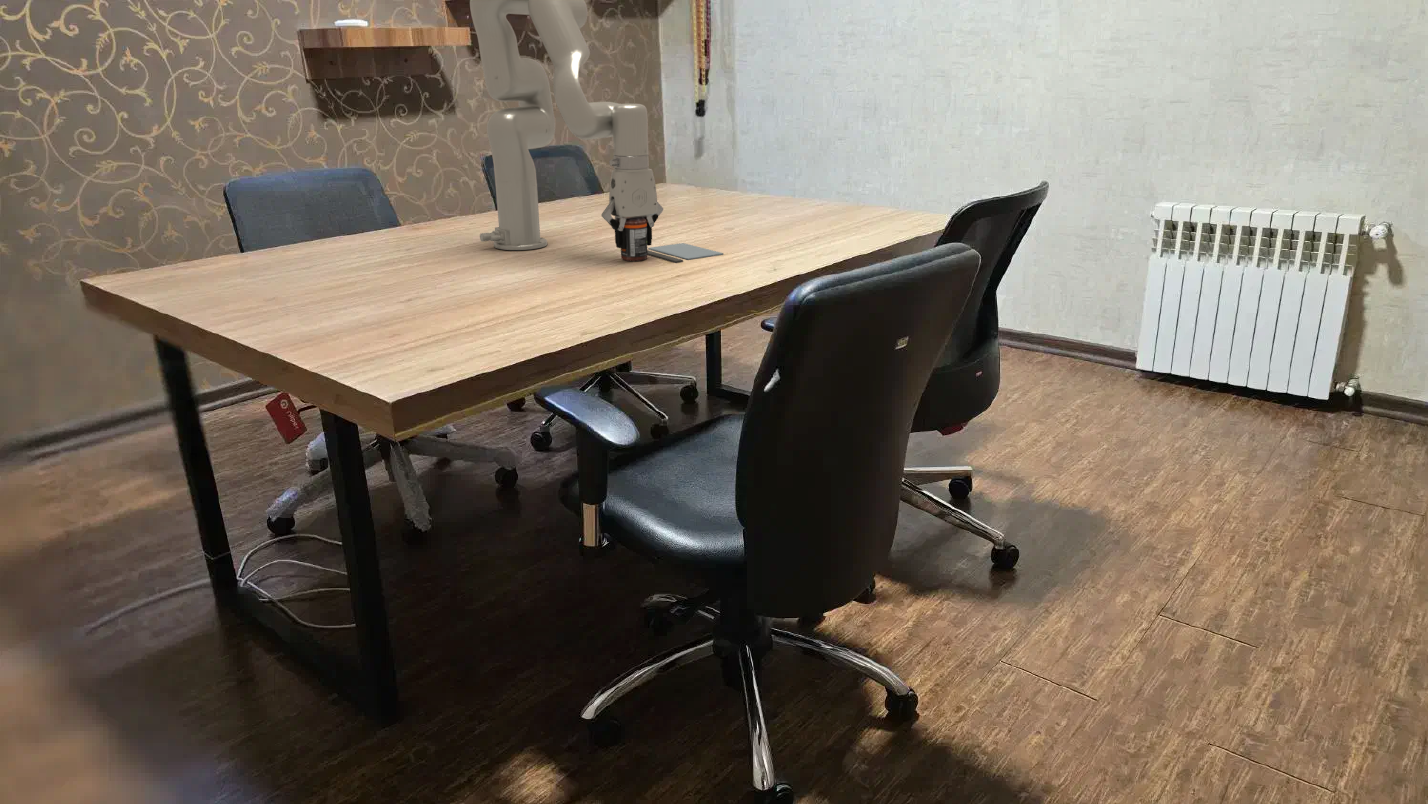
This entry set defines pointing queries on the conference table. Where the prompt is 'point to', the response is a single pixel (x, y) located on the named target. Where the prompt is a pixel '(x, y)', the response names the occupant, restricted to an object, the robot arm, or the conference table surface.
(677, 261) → the bar
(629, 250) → the supplement bottle
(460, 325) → the conference table surface
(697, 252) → the pad
